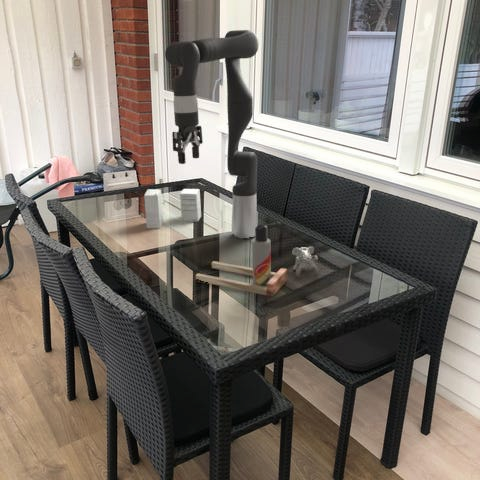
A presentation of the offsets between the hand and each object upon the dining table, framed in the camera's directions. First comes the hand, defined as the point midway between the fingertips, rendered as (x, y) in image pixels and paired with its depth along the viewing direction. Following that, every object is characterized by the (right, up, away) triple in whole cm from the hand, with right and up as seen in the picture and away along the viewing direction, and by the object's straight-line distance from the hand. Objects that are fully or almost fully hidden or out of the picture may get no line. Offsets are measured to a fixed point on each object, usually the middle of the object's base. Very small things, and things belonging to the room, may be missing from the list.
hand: (189, 160), depth 165 cm
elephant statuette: (+38, -36, +5) cm, 53 cm away
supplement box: (-5, -17, +56) cm, 58 cm away
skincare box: (-19, -20, +49) cm, 56 cm away
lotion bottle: (+24, -40, -4) cm, 47 cm away
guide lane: (+17, -39, -1) cm, 43 cm away
